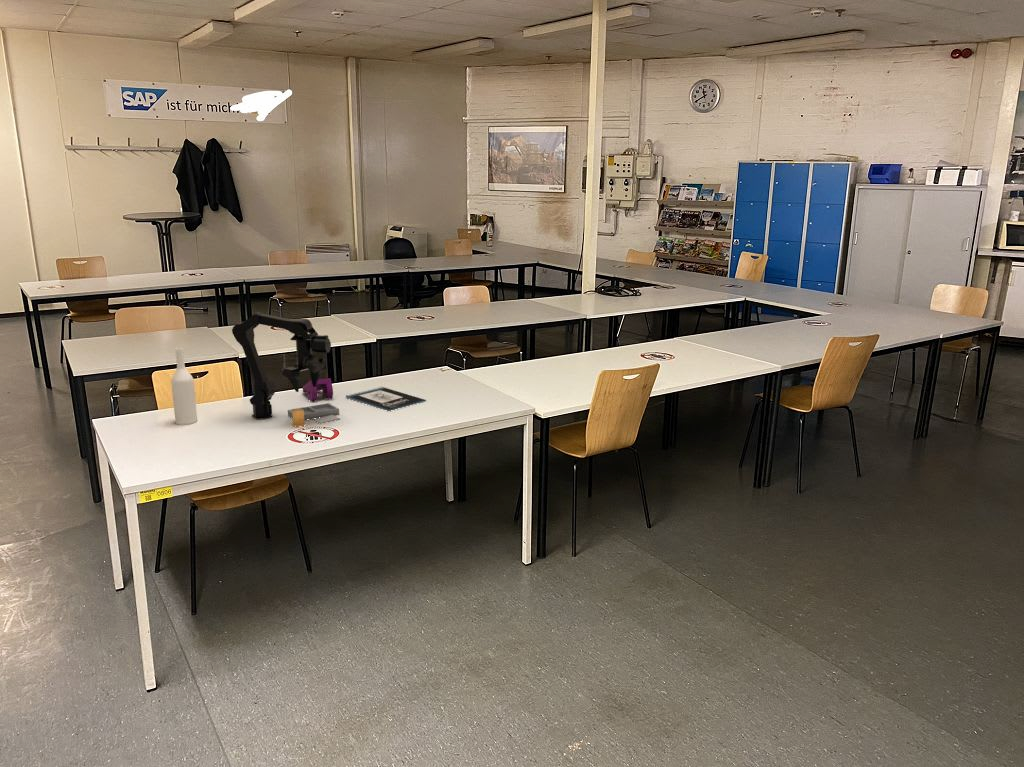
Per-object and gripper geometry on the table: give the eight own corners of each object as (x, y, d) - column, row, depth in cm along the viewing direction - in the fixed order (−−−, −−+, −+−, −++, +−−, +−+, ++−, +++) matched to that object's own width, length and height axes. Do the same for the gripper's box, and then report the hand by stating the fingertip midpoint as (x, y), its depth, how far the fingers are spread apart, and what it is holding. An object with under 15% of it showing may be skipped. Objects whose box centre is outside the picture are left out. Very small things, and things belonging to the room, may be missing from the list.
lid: (320, 425, 304) (320, 422, 303) (312, 422, 308) (312, 419, 307) (340, 420, 310) (339, 418, 309) (332, 417, 314) (331, 414, 313)
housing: (297, 421, 306) (296, 416, 305) (288, 415, 313) (287, 409, 313) (339, 414, 316) (338, 408, 315) (329, 408, 324) (328, 402, 323)
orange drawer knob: (295, 428, 298) (294, 413, 297) (290, 424, 302) (289, 410, 301) (307, 425, 301) (306, 411, 300) (302, 422, 305) (301, 408, 304)
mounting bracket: (303, 407, 346) (313, 399, 330) (299, 389, 347) (309, 380, 331) (323, 404, 350) (334, 396, 335) (320, 386, 351) (330, 378, 336)
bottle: (199, 418, 308) (192, 345, 301) (194, 424, 301) (187, 350, 293) (178, 419, 307) (170, 346, 299) (173, 425, 299) (165, 350, 292)
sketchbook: (389, 413, 321) (388, 408, 320) (344, 399, 340) (344, 395, 339) (426, 402, 337) (426, 398, 336) (382, 389, 355) (381, 385, 355)
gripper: (300, 358, 290) (302, 397, 294) (335, 349, 306) (337, 387, 310) (280, 354, 296) (282, 393, 300) (315, 346, 311) (317, 383, 315)
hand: (305, 389), depth 306 cm, fingers open, 9 cm apart
